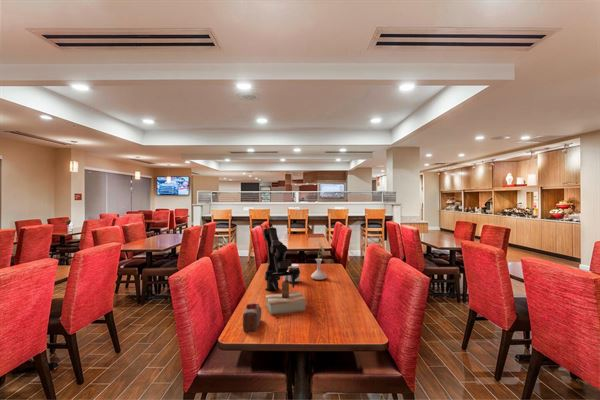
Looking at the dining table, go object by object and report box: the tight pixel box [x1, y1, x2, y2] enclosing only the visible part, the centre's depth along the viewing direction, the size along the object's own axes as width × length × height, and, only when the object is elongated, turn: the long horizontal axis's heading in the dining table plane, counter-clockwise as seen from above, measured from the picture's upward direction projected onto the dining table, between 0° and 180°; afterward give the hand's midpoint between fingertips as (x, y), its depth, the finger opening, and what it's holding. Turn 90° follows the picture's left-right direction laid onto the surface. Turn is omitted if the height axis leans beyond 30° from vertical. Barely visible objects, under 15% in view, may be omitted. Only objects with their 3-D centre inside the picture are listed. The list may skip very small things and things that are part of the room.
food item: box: [242, 302, 263, 332], centre depth 141 cm, size 14×8×10 cm, turn 4°
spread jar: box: [282, 263, 301, 284], centre depth 211 cm, size 12×11×12 cm
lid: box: [265, 281, 307, 305], centre depth 161 cm, size 13×19×9 cm
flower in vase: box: [310, 242, 328, 281], centre depth 219 cm, size 13×11×25 cm
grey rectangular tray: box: [265, 298, 306, 316], centre depth 161 cm, size 12×18×5 cm, turn 107°
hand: (285, 288), depth 162 cm, fingers open, 9 cm apart
